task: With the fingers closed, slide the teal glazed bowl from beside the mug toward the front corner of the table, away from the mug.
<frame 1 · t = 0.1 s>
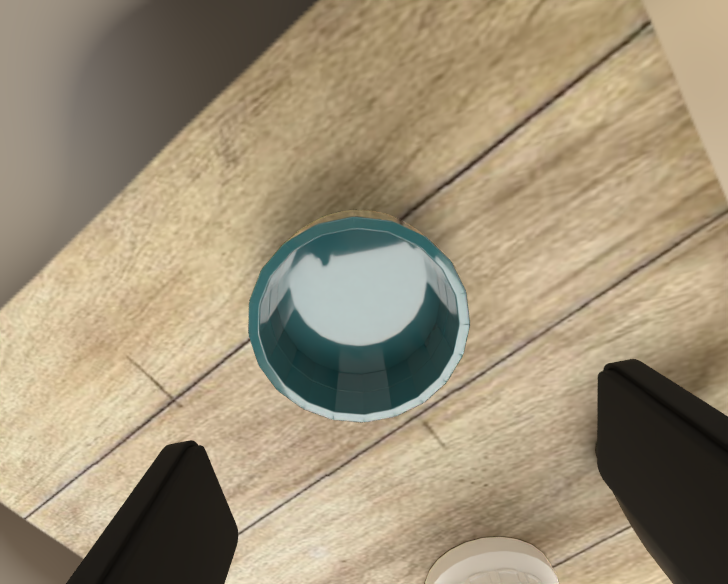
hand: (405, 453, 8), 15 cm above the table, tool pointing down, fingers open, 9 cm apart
bowl: (358, 299, 23), on the table
mug: (650, 428, 27), on the table
decorative container: (487, 581, 32), on the table
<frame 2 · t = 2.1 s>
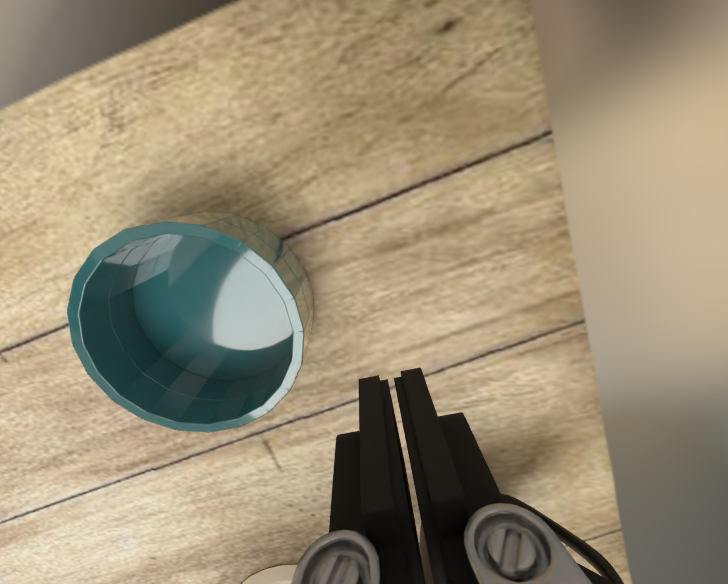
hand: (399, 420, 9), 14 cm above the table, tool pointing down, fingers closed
bowl: (223, 304, 23), on the table
mug: (477, 497, 29), on the table
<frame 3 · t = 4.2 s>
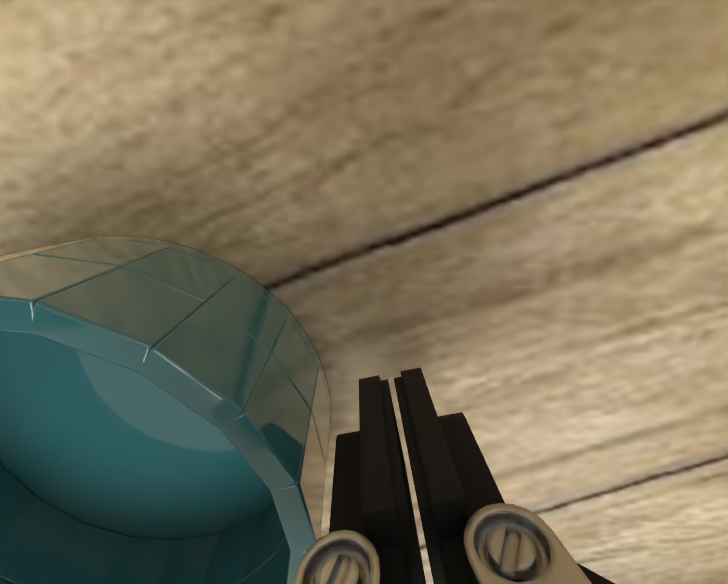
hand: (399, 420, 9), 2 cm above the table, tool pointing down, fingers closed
bowl: (157, 407, 12), on the table, touching gripper
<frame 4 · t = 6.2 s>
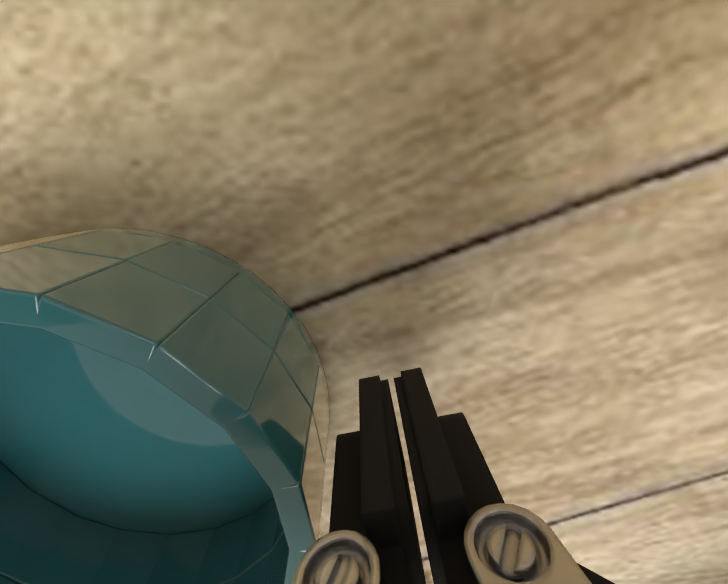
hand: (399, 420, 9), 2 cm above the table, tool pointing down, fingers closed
bowl: (154, 402, 12), on the table, touching gripper
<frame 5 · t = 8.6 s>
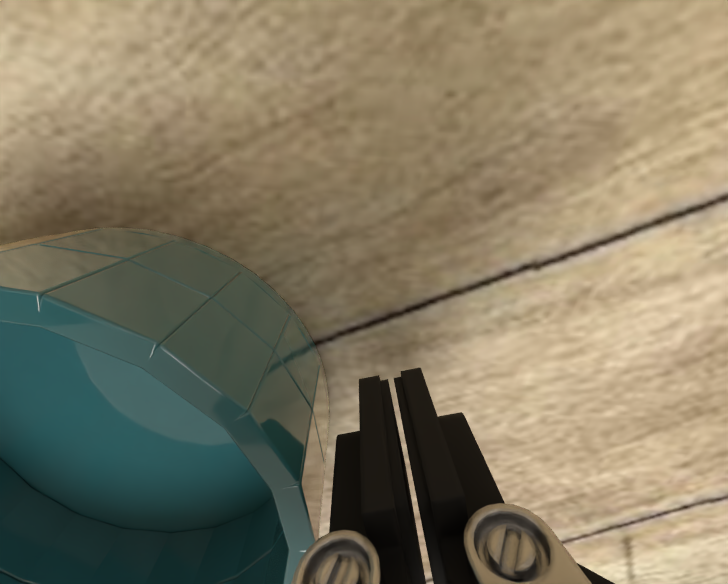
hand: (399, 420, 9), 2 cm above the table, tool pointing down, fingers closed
bowl: (155, 400, 12), on the table, touching gripper
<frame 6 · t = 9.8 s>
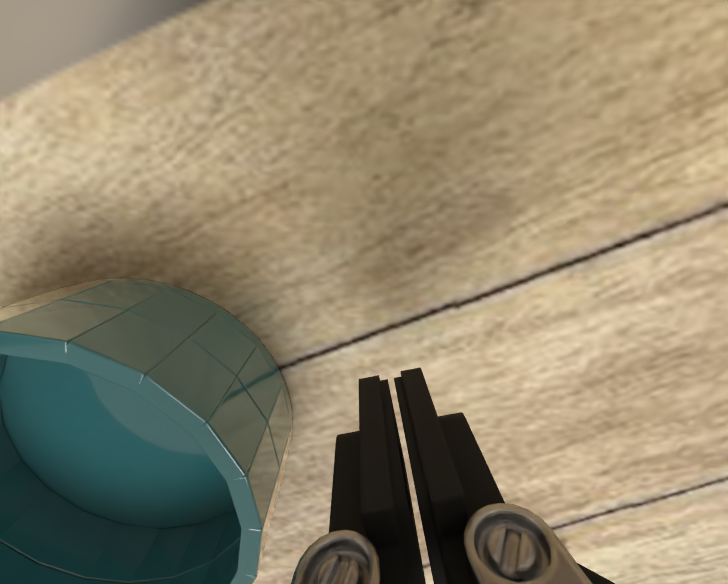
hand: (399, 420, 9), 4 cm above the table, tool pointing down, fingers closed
bowl: (150, 415, 14), on the table
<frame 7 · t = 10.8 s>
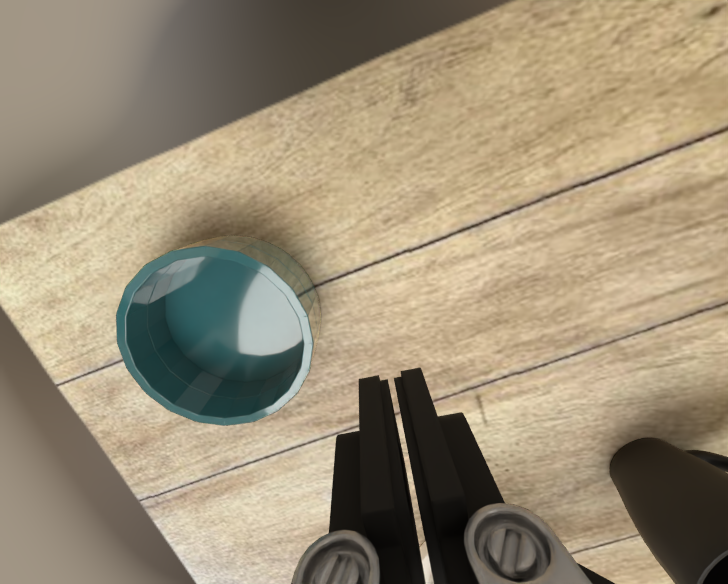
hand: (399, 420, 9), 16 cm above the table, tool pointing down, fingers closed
bowl: (242, 314, 26), on the table
mug: (661, 455, 30), on the table
decorative container: (471, 564, 34), on the table
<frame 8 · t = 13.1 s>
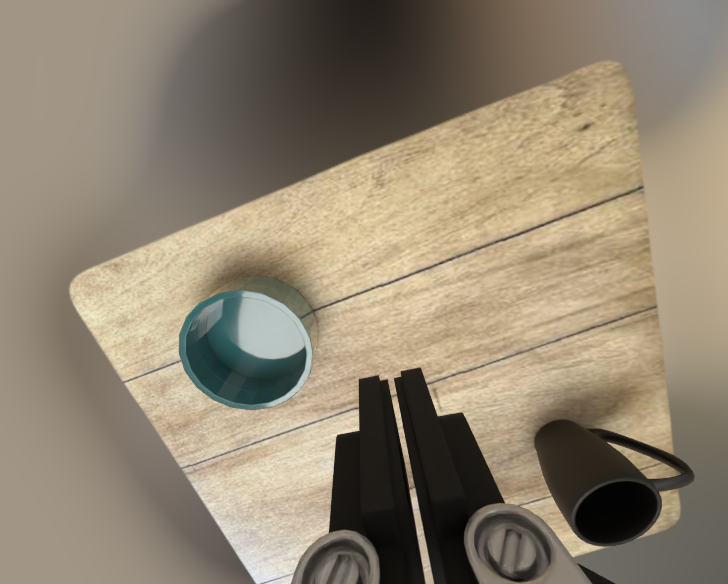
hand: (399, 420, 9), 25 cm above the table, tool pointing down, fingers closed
bowl: (260, 330, 36), on the table
mug: (573, 432, 41), on the table
decorative container: (434, 517, 44), on the table
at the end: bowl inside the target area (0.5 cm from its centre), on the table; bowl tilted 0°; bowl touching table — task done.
